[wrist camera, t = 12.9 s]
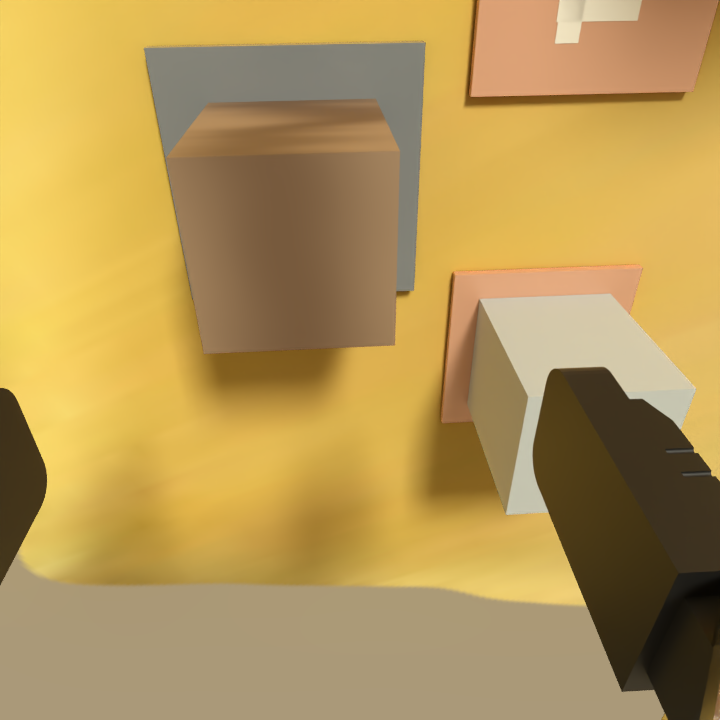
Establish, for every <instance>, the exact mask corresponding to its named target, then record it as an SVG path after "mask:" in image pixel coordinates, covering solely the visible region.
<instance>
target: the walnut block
mask: <svg viewBox="0 0 720 720" xmlns="http://www.w3.org/2000/svg"><path fill="white" fill-rule="evenodd" d="M166 160H167V165H168V170H169V175H170V181H171V186H172V191H173V196H174V201H175V206H176V212H177V217H178V222H179V227H180V232H181V238H182V243H183V248H184V253H185V258H186V263H187V269H188V274H189V279H190V284H191V289H192V294H193V300H194V305H195V310H196V315H197V320H198V326H199V331H200V336H201V341H202V346H203V351H204V354H212V353H234V352H257V351H279V350H301V349H323V348H345V347H367V346H390V345H395V323H396V285H397V247H398V209H399V171H400V150H399V148H398V146H397V143H396V141H395V139H394V137H393V135H392V133H391V130H390V128H389V126H388V124H387V122H386V120H385V118H384V115H383V113H382V111H381V109H380V107H379V105H378V102H377V100H376V99H339V100H298V101H258V102H218V103H208V104H207V105H206V106H205V108H204V109H203V110H202V111H201V113H200V114H199V115H198V117H197V118H196V119H195V121H194V122H193V123H192V125H191V126H190V127H189V128H188V130H187V131H186V132H185V134H184V135H183V136H182V138H181V139H180V140H179V142H178V143H177V144H176V145H175V147H174V148H173V149H172V151H171V152H170V153H169V155H168V156H167V157H166Z"/></svg>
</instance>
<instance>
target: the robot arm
mask: <svg viewBox="0 0 720 720" xmlns="http://www.w3.org/2000/svg"><path fill="white" fill-rule="evenodd" d="M693 449H694V447H693V446H692V445H691V443H690V442H689V441H688V439H687V438H686V437H685V435H684V434H683V433H682V432H681V430H680V429H679V428H678V426H677V425H676V424H675V422H674V421H673V420H672V419H670V418H669V417H667V416H666V415H664V414H663V413H662V412H660V411H659V410H657V409H656V408H655V407H653V406H652V405H650V404H649V403H648V402H646V401H645V400H643V399H629V397H628V396H627V395H626V393H625V392H624V390H623V389H622V387H621V386H620V385H619V383H618V382H617V380H616V379H615V377H614V376H613V375H612V373H611V372H610V371H609V370H608V369H607V368H605V367H581V368H555V369H552V370H551V371H550V373H549V375H548V377H547V381H546V385H545V390H544V395H543V399H542V404H541V409H540V414H539V419H538V423H537V428H536V433H535V438H534V443H533V452H532V458H533V469H534V474H535V479H536V482H537V485H538V488H539V490H540V492H541V495H542V497H543V500H544V502H545V505H546V507H547V510H548V512H549V514H550V517H551V519H552V522H553V524H554V527H555V529H556V532H557V534H558V536H559V539H560V541H561V544H562V546H563V549H564V551H565V554H566V556H567V558H568V561H569V563H570V566H571V568H572V571H573V573H574V576H575V578H576V580H577V583H578V585H579V588H580V590H581V593H582V595H583V598H584V600H585V602H586V605H587V607H588V610H589V612H590V615H591V617H592V620H593V622H594V624H595V627H596V629H597V632H598V634H599V637H600V639H601V642H602V644H603V647H604V649H605V651H606V654H607V656H608V659H609V661H610V664H611V666H612V668H613V671H614V673H615V676H616V678H617V681H618V683H619V686H620V688H621V690H622V692H623V691H640V690H655V692H656V694H657V697H658V699H659V701H660V703H661V706H662V708H663V710H664V712H665V714H664V716H663V717H662V719H661V720H720V481H719V480H718V479H717V477H716V476H714V477H712V475H711V470H710V468H709V467H708V466H707V464H706V463H705V462H704V460H703V459H702V458H701V456H700V455H699V454H698V453H694V450H693ZM46 487H47V474H46V468H45V464H44V461H43V459H42V457H41V454H40V452H39V450H38V447H37V445H36V443H35V441H34V438H33V436H32V434H31V431H30V429H29V427H28V424H27V422H26V420H25V417H24V415H23V413H22V410H21V408H20V406H19V404H18V401H17V399H16V397H15V396H14V395H13V393H12V392H10V391H9V390H7V389H5V388H0V585H1V582H2V581H3V579H4V577H5V575H6V573H7V571H8V569H9V567H10V565H11V563H12V562H13V560H14V558H15V556H16V554H17V552H18V550H19V548H20V546H21V544H22V542H23V540H24V539H25V537H26V535H27V533H28V531H29V529H30V527H31V525H32V523H33V521H34V519H35V517H36V515H37V514H38V512H39V510H40V508H41V506H42V503H43V501H44V498H45V493H46Z"/></svg>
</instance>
